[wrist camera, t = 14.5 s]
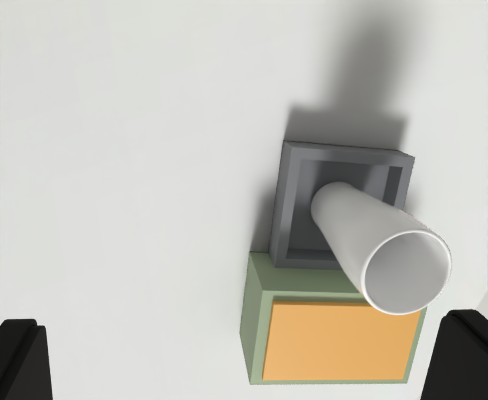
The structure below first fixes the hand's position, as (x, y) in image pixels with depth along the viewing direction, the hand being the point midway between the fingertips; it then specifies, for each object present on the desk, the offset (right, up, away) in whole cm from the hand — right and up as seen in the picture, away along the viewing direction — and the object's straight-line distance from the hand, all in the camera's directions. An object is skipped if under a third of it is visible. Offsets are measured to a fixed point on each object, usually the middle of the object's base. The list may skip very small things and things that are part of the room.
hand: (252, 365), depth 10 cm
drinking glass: (+9, +3, +33) cm, 35 cm away
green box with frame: (+8, -1, +36) cm, 37 cm away
